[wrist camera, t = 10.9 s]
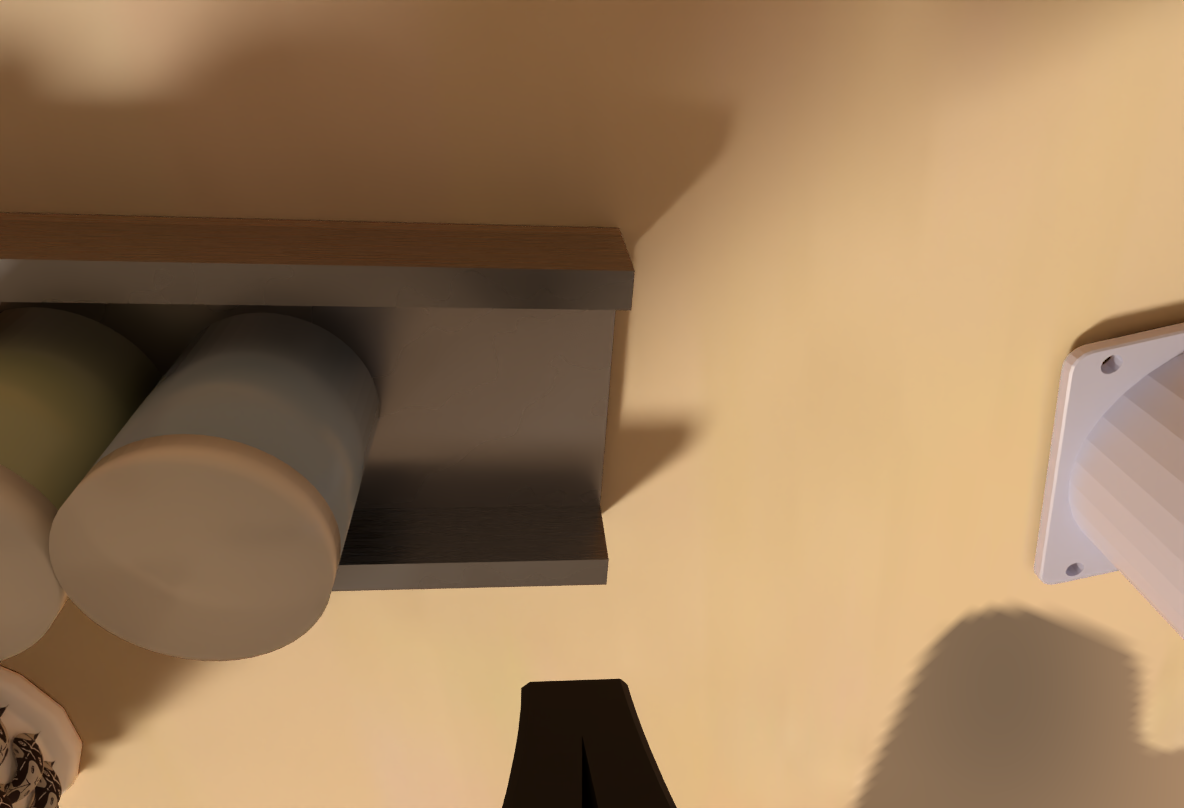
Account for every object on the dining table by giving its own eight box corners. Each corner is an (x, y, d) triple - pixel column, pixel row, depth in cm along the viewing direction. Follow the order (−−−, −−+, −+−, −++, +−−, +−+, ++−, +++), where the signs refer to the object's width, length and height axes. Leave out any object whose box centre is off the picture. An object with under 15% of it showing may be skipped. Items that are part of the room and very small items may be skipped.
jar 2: (336, 292, 16) (265, 435, 12) (406, 457, 19) (369, 631, 14) (135, 339, 16) (-12, 499, 12) (229, 497, 19) (137, 682, 14)
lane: (619, 228, 17) (651, 317, 13) (596, 519, 21) (615, 650, 17) (-318, 204, 15) (-603, 301, 11) (-136, 530, 19) (-294, 681, 15)
